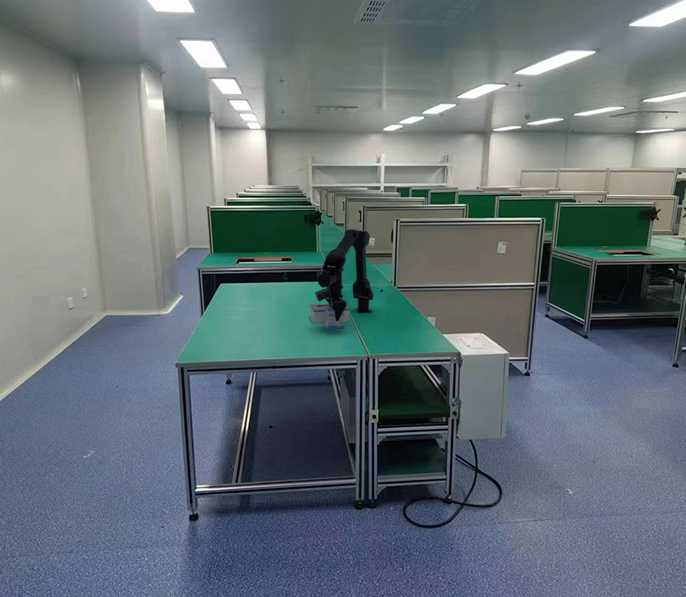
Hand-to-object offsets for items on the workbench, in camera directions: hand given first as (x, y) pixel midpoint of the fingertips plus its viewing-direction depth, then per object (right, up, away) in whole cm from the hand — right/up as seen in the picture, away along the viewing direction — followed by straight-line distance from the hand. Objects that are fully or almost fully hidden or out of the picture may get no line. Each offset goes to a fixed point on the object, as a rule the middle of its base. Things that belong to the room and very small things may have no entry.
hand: (334, 318), depth 208 cm
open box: (-3, -1, +12) cm, 13 cm away
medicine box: (0, -4, +1) cm, 4 cm away
